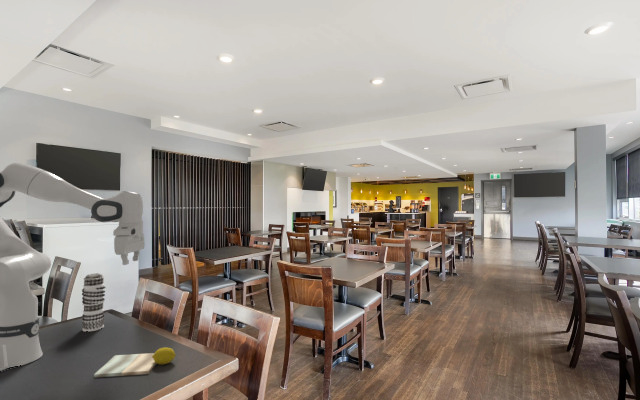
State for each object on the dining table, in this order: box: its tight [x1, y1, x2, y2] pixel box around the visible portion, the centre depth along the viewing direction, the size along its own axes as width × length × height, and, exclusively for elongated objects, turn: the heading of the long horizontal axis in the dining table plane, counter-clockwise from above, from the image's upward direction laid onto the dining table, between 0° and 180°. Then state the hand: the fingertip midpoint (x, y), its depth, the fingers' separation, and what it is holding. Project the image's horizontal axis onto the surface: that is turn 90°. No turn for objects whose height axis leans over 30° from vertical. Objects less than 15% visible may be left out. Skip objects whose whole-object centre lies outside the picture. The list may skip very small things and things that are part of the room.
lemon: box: [152, 347, 176, 365], centre depth 118 cm, size 6×6×8 cm
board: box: [93, 352, 157, 378], centre depth 117 cm, size 17×14×1 cm
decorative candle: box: [81, 273, 107, 332], centre depth 153 cm, size 9×9×25 cm
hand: (130, 262), depth 138 cm, fingers open, 8 cm apart
